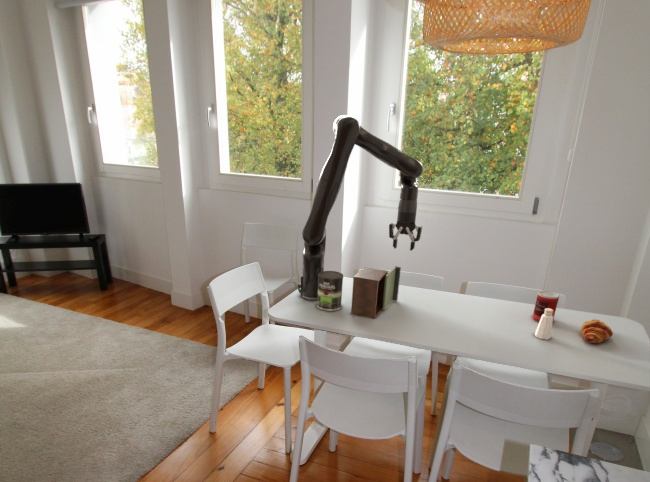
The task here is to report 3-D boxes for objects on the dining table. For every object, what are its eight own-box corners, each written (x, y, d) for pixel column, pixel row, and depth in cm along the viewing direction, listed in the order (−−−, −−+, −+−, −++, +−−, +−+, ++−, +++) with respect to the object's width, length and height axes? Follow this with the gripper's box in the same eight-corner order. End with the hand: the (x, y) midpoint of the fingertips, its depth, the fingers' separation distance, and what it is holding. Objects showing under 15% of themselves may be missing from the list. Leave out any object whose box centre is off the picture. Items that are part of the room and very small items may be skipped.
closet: (384, 306, 198) (388, 270, 191) (374, 318, 186) (378, 280, 180) (362, 302, 202) (364, 267, 195) (351, 314, 190) (353, 276, 183)
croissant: (589, 333, 186) (583, 314, 185) (618, 329, 179) (612, 309, 178) (578, 351, 170) (572, 330, 170) (609, 347, 164) (603, 325, 163)
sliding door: (397, 300, 204) (400, 267, 198) (388, 311, 192) (391, 276, 186) (391, 299, 205) (394, 266, 199) (382, 310, 193) (385, 275, 187)
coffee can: (336, 312, 191) (338, 280, 185) (313, 308, 194) (314, 276, 189) (344, 304, 200) (346, 272, 194) (322, 300, 203) (323, 269, 197)
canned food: (552, 317, 191) (559, 292, 187) (553, 324, 185) (559, 298, 180) (532, 314, 194) (538, 289, 190) (531, 321, 188) (538, 295, 183)
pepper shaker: (549, 341, 171) (556, 313, 167) (533, 337, 174) (540, 310, 169) (551, 335, 175) (558, 308, 171) (535, 332, 178) (542, 305, 173)
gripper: (426, 210, 195) (421, 249, 202) (392, 206, 200) (389, 245, 207) (422, 213, 189) (417, 253, 195) (388, 209, 194) (384, 249, 201)
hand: (403, 249), depth 201 cm, fingers open, 6 cm apart
